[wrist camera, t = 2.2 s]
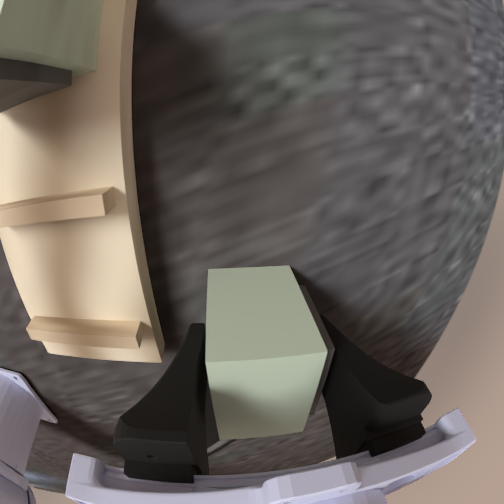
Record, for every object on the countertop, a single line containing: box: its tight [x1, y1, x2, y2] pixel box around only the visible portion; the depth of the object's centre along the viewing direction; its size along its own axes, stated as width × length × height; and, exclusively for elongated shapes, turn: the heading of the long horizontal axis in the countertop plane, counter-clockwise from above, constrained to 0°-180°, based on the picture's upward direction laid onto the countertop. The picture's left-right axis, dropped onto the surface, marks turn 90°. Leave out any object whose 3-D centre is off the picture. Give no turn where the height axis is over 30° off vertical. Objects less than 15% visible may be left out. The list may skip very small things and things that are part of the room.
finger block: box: [205, 266, 335, 440], centre depth 12 cm, size 5×6×6 cm
